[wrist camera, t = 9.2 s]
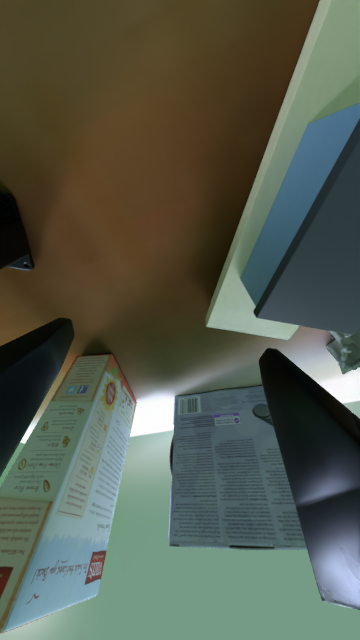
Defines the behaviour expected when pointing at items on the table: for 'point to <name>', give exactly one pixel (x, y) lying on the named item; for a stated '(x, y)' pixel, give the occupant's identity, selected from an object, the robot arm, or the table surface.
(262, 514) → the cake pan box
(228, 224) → the table surface
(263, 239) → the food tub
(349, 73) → the cream lidded box
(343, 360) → the egg carton
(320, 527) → the robot arm
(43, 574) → the cracker box
